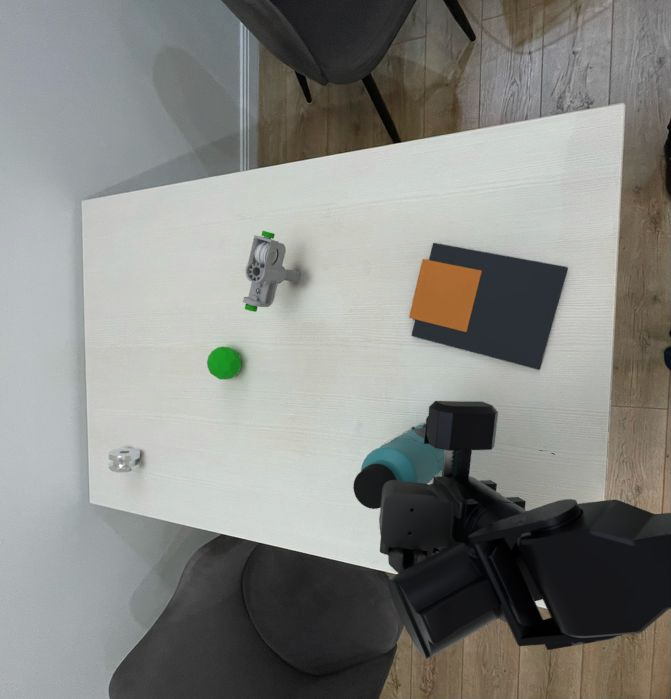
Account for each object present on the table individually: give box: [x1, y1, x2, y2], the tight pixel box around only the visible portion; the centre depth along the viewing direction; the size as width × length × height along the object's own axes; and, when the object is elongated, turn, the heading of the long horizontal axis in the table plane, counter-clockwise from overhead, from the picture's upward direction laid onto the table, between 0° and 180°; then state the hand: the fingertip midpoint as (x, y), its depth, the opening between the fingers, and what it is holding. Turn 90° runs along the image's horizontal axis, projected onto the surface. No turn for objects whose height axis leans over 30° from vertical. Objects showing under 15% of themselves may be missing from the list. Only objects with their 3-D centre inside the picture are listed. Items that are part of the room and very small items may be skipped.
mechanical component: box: [242, 230, 302, 313], centre depth 73 cm, size 3×10×10 cm, turn 163°
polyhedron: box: [206, 346, 242, 380], centre depth 81 cm, size 5×5×5 cm
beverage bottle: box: [352, 422, 444, 510], centre depth 60 cm, size 6×7×20 cm
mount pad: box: [408, 242, 569, 370], centre depth 65 cm, size 17×12×1 cm
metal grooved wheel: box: [108, 447, 141, 474], centre depth 92 cm, size 5×3×5 cm, turn 87°
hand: (414, 471), depth 58 cm, fingers open, 9 cm apart
